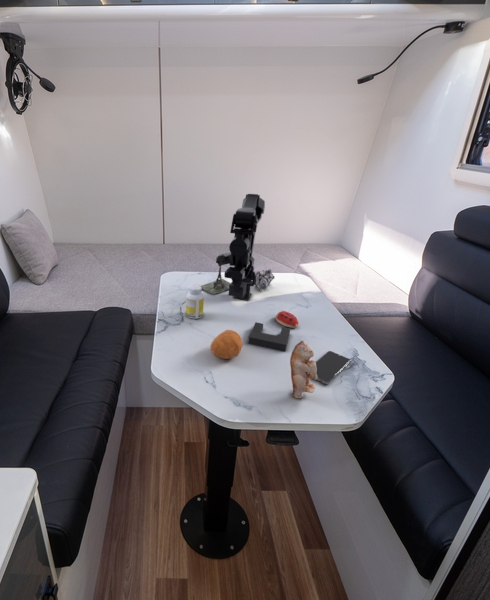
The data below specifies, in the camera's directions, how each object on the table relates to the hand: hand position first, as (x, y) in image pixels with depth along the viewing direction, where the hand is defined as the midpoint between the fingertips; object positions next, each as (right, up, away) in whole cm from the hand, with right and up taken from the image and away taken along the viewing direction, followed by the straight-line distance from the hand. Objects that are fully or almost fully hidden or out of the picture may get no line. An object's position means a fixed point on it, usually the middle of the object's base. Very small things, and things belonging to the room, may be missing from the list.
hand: (237, 289), depth 136 cm
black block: (0, -2, +1) cm, 2 cm away
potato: (-7, -21, -19) cm, 29 cm away
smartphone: (+23, -25, -24) cm, 42 cm away
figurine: (+11, -30, -35) cm, 47 cm away
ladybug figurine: (+18, -13, +1) cm, 22 cm away
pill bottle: (-16, -10, +5) cm, 19 cm away
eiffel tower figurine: (-4, +1, +29) cm, 29 cm away
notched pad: (+9, -17, -10) cm, 22 cm away
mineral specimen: (+16, +1, +30) cm, 34 cm away
